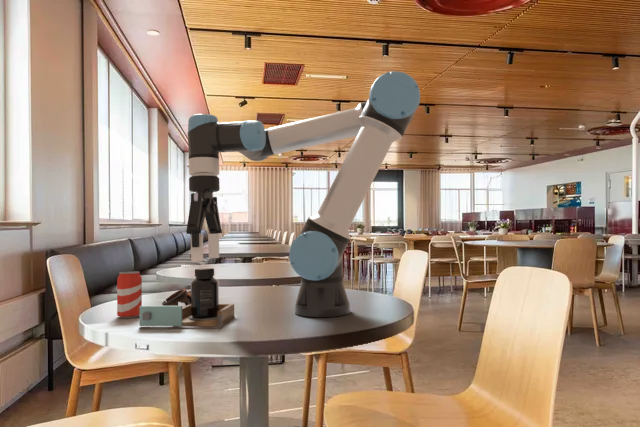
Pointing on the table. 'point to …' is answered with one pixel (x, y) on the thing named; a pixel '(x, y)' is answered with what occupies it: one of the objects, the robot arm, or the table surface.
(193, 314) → the supplement bottle
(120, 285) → the beverage can
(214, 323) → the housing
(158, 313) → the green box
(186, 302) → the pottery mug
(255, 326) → the table surface
